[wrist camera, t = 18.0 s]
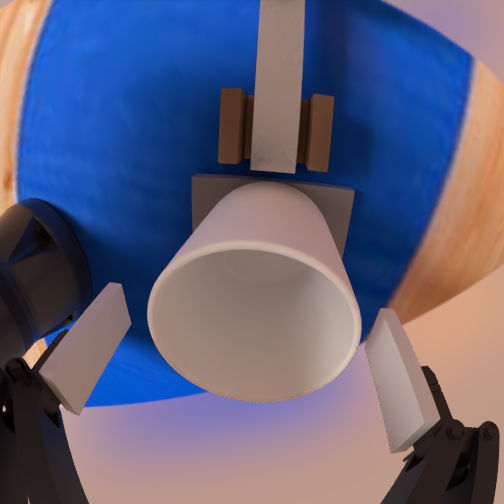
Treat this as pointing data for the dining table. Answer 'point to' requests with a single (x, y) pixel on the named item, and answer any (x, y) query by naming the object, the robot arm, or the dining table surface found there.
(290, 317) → the mug
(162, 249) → the dining table surface
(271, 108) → the crank handle
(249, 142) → the mount
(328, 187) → the dock pad
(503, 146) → the dining table surface
